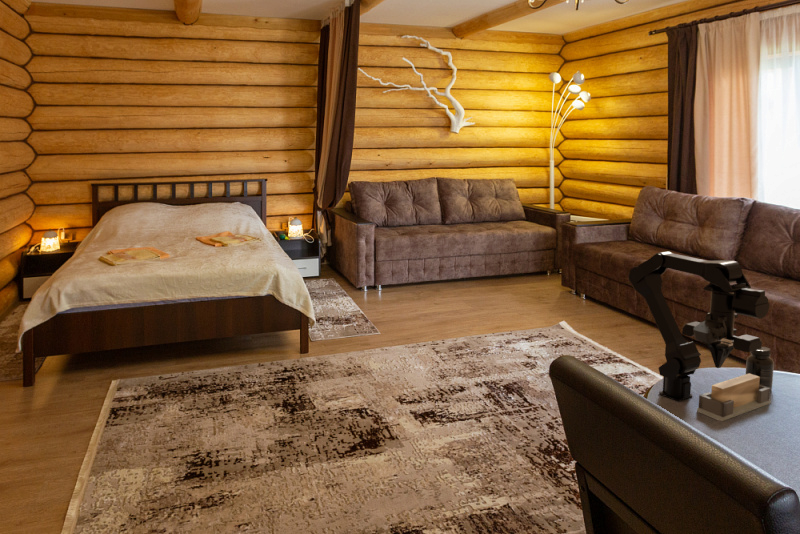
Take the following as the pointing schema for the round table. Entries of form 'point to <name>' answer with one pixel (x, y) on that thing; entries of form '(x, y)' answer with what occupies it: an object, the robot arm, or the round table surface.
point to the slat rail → (731, 405)
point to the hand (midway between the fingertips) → (718, 367)
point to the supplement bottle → (761, 366)
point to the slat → (737, 390)
